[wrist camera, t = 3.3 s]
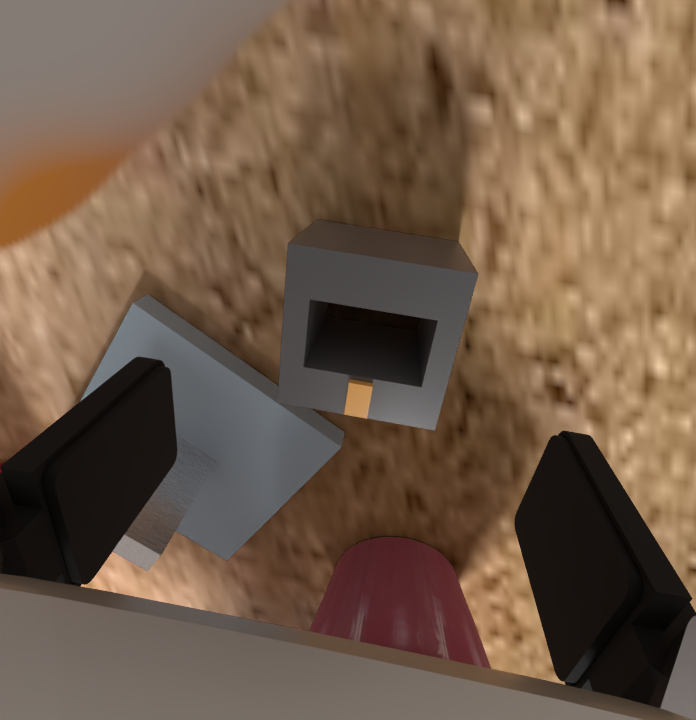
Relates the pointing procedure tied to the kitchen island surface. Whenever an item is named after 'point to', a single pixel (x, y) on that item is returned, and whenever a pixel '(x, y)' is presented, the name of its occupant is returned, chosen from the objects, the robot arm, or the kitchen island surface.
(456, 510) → the kitchen island surface
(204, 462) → the grey wooden block
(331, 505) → the kitchen island surface
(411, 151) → the kitchen island surface
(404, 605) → the plant pot
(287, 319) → the grey hollow box
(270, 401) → the plate
